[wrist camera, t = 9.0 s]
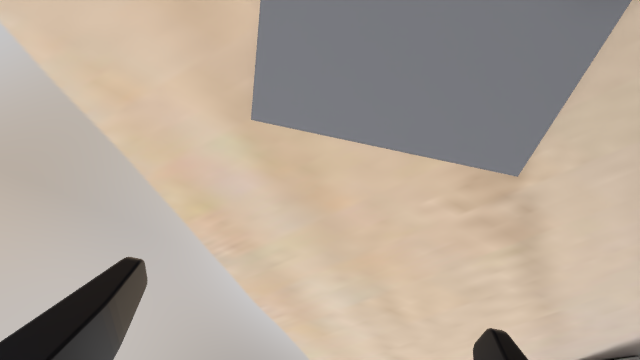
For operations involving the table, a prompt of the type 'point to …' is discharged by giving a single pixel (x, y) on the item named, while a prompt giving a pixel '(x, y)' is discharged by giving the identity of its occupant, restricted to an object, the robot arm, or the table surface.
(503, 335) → the robot arm
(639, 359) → the coffee box
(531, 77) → the rubber mat
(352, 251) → the table surface
